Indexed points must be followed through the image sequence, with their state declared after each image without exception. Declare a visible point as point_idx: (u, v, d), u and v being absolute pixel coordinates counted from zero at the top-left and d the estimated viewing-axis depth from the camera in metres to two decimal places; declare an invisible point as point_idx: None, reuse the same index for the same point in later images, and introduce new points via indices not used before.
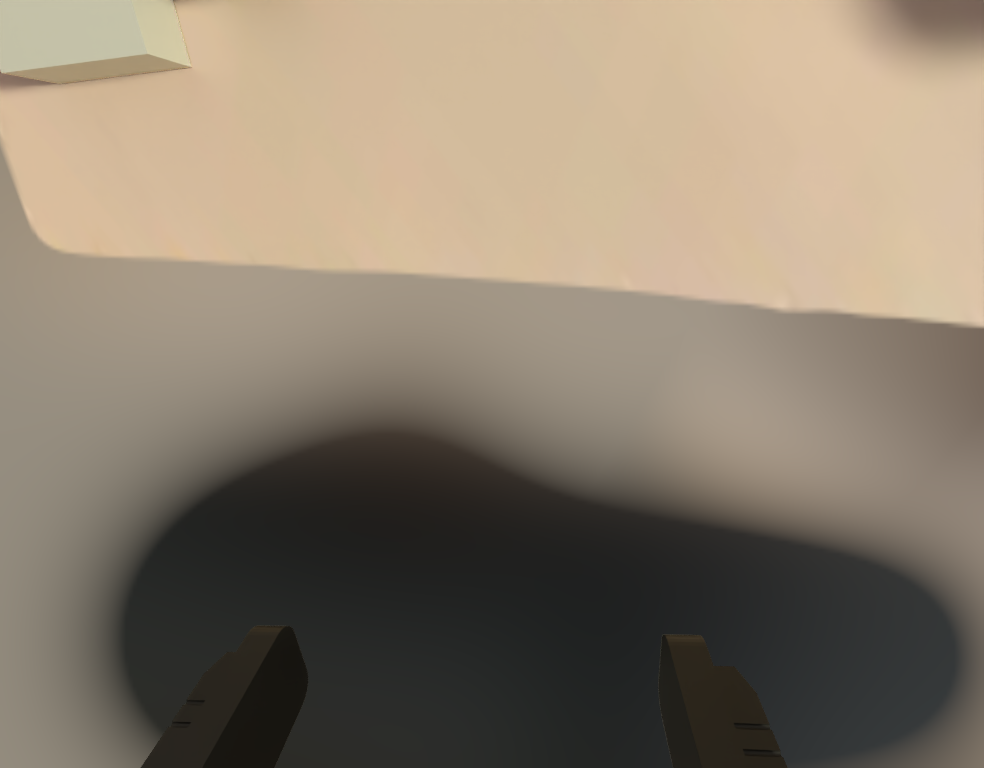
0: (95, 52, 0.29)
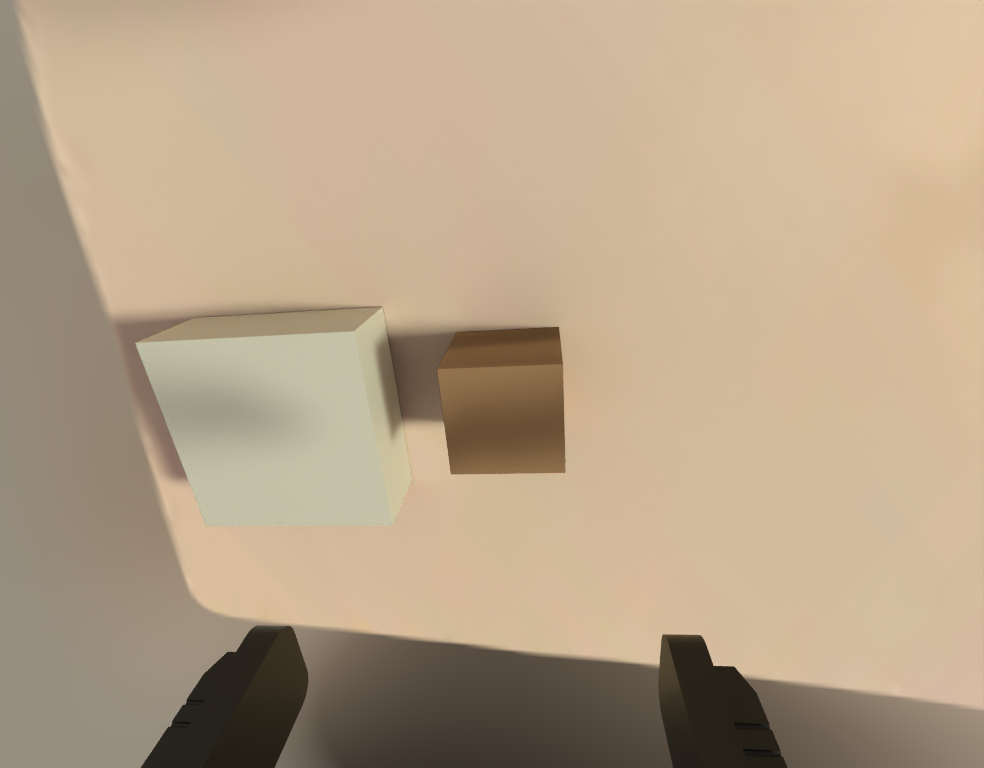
0: (327, 519, 0.24)
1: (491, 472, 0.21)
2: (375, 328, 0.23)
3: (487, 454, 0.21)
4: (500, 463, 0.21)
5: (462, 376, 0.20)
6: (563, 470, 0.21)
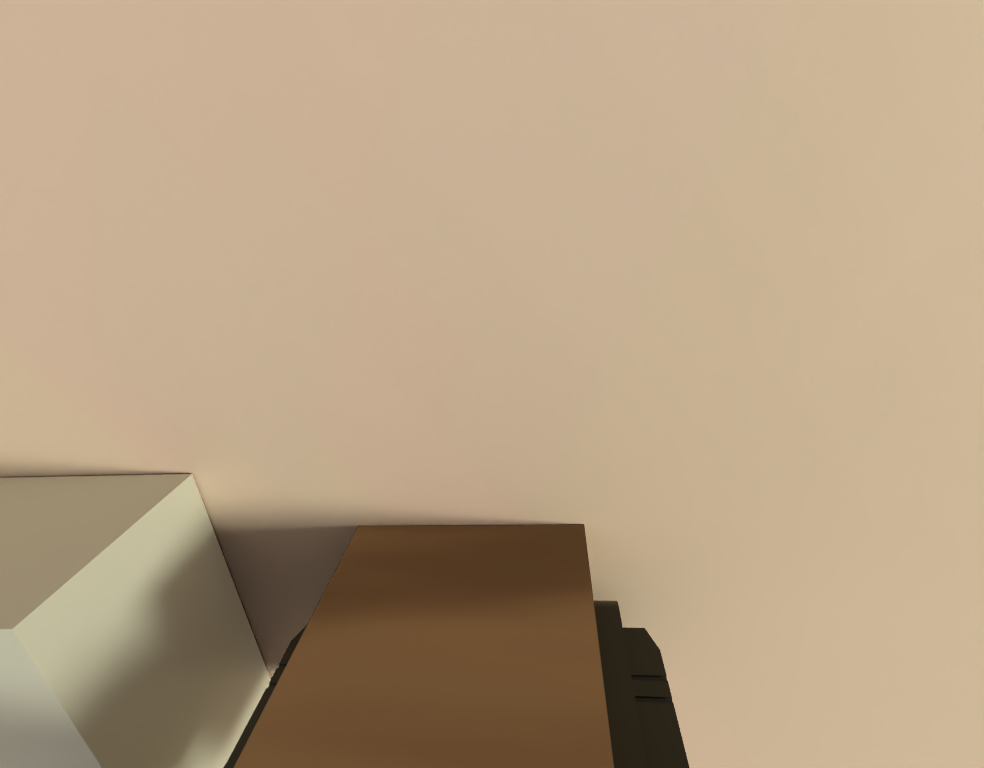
0: None
1: None
2: (153, 544, 0.10)
3: None
4: None
5: None
6: None
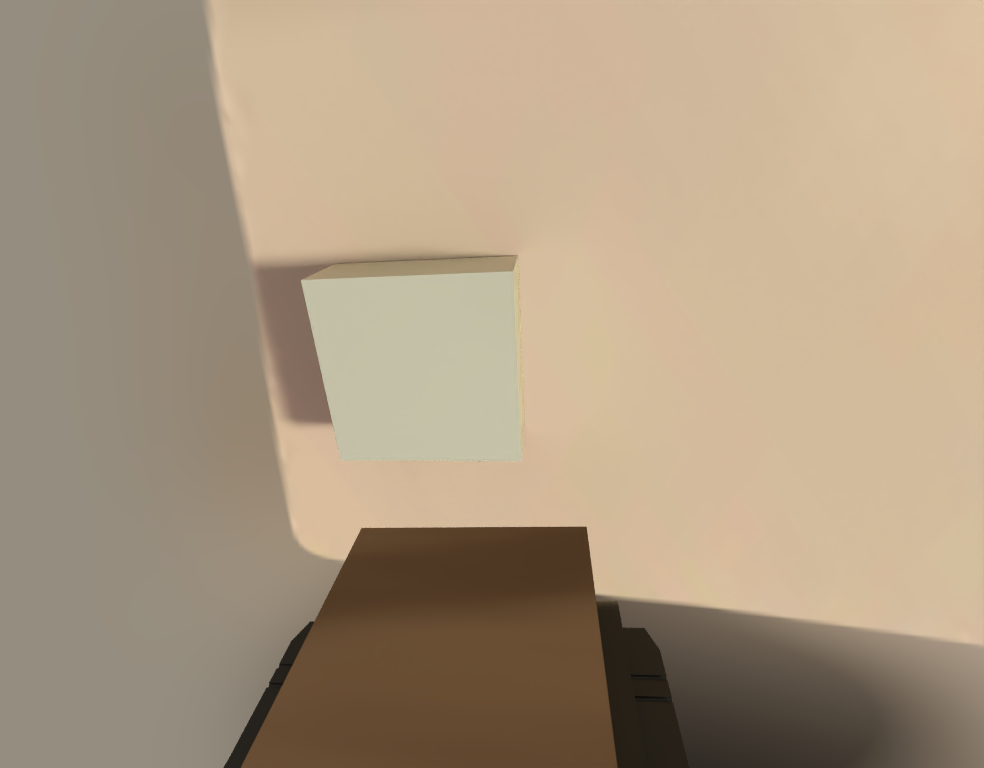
0: (459, 454, 0.26)
1: None
2: (516, 274, 0.24)
3: None
4: None
5: None
6: None
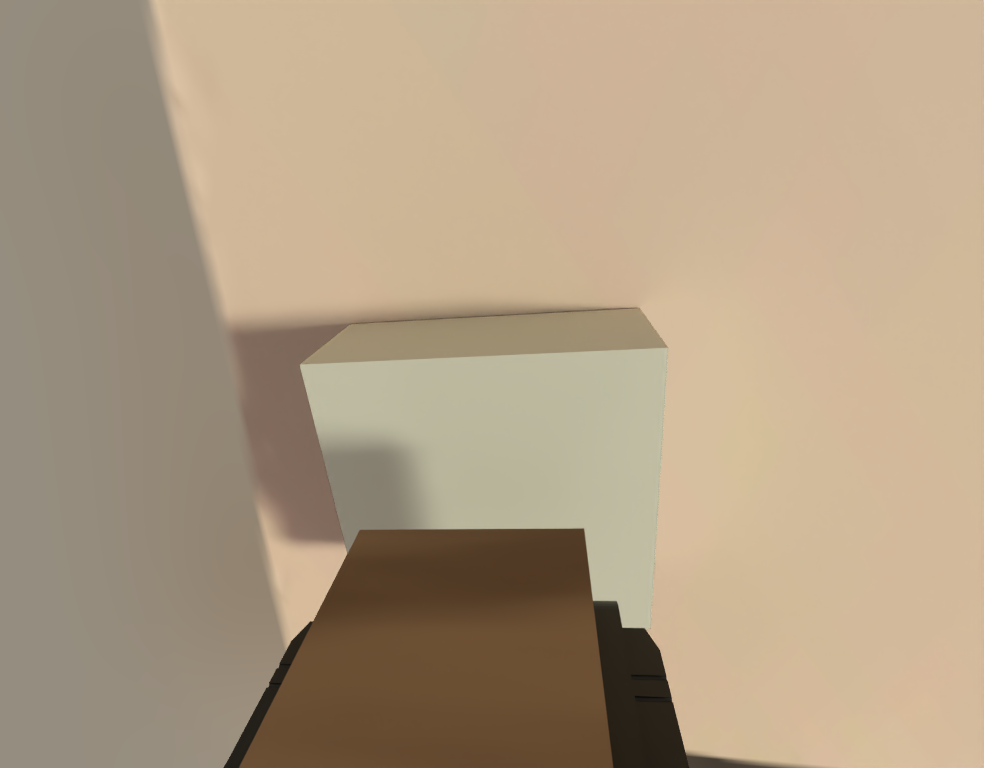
0: None
1: None
2: None
3: None
4: None
5: None
6: None
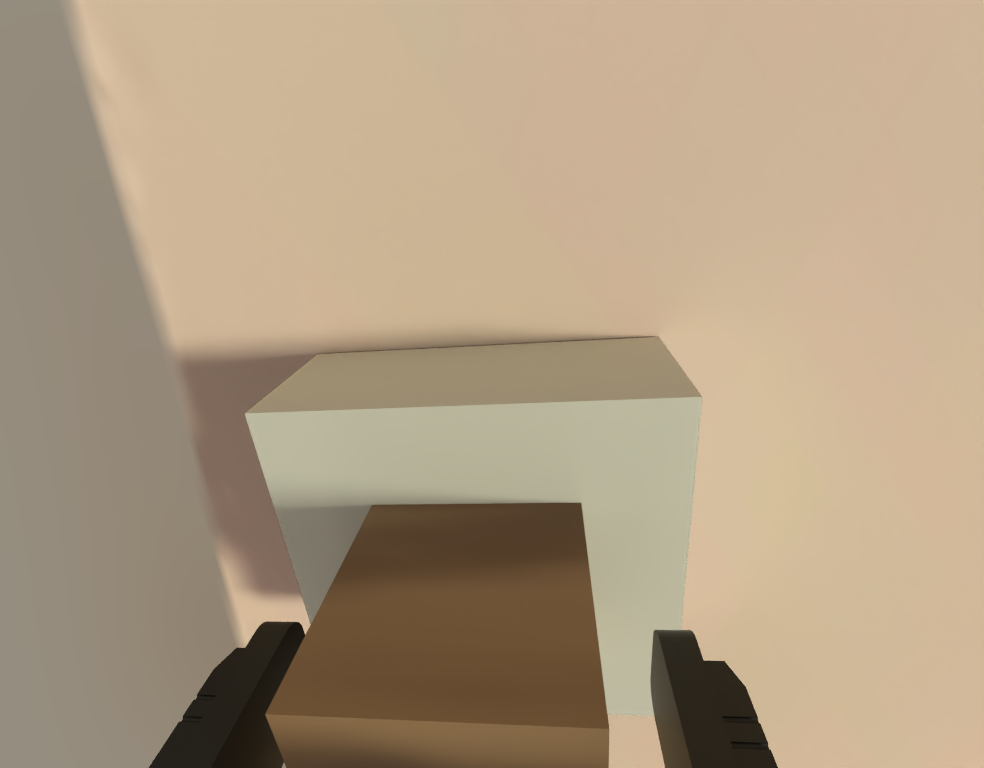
0: None
1: None
2: None
3: None
4: None
5: (334, 733, 0.07)
6: None
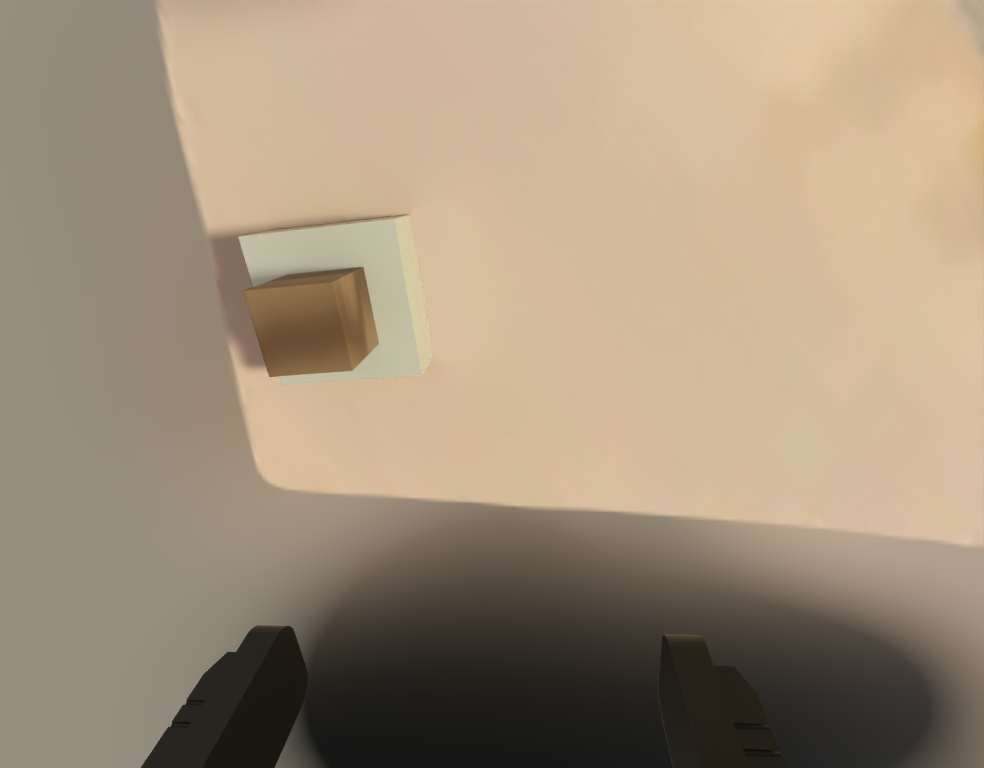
0: (373, 373, 0.33)
1: (299, 374, 0.28)
2: (406, 226, 0.31)
3: (292, 358, 0.27)
4: (303, 365, 0.28)
5: (262, 295, 0.26)
6: (352, 370, 0.28)
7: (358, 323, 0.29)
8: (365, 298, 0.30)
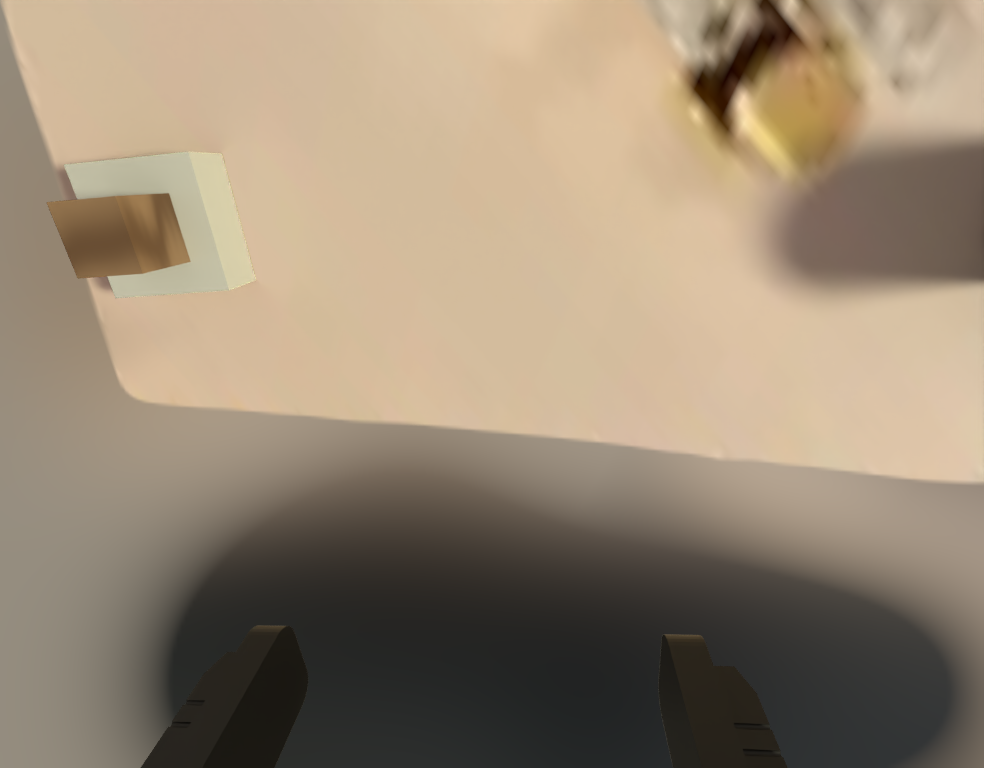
0: (189, 288, 0.39)
1: (102, 276, 0.34)
2: (212, 162, 0.37)
3: (94, 262, 0.33)
4: (103, 268, 0.34)
5: (62, 206, 0.32)
6: (143, 273, 0.34)
7: (156, 237, 0.35)
8: (170, 219, 0.36)
